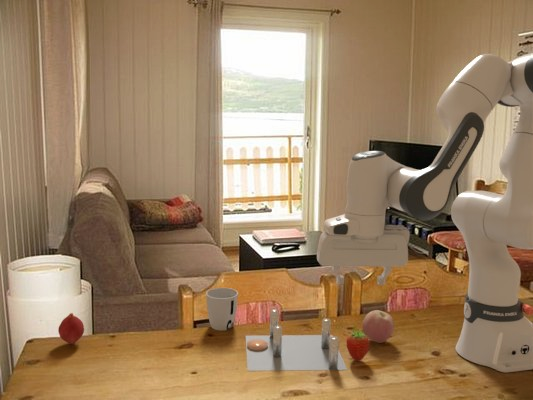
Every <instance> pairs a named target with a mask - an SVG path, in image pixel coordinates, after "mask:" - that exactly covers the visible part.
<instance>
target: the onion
mask: <svg viewBox="0 0 533 400" xmlns="http://www.w3.org/2000/svg"><path fill="white" fill-rule="evenodd" d="M84 332H85V325H84V323H83V321H82V320H81V319H80V318H79V317H77V316H76V315H74V313H73V312H70V313H69V314H68V315H67V316H66V317H64V318H63V319H62V320H61V322H60V324H59V326H58V335H59V337H60V339H61V340H63V341H64V342H66V343H67V344H70V345H75V344H76V342H78V341H79V340H80V339H81V338H82V337H83V335H84Z"/></svg>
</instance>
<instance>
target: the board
mask: <svg viewBox="0 0 533 400" xmlns="http://www.w3.org/2000/svg"><path fill="white" fill-rule="evenodd" d="M332 336H334V335H333V334H330V337H332ZM254 339H260V340H264V341H266V342H267V343H268V348H267V349H265V350H262V351H253V350H250V349H248V348H247V342H248V341H250V340H254ZM321 342H322V334H304V335H303V334H299V335H298V334H297V335H294V334H291V335H289V334H288V335H287V334H284V335H283V334H282V350H281V357H279V358H275V357H273V339H272V338H270V334H269V335H266V334H265V335H245V349H246V350H245V351H246V364H247V366H246V368H247V372H257V371H258V372H268V371H269V372H273V371H274V372H275V371H277V372H278V371H281V372H282V371H283V372H284V371H285V372H286V371H287V372H288V371H291V372H292V371H293V372H294V371H332V370H331V369H329V368H328V367H329V349H322V348H321ZM335 371H348V369H347V366H346V363H345V360H344V359H343V356H342V355H341V351H340V349H339V348H338V368H337V369H336V370H335Z"/></svg>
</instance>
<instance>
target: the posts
mask: <svg viewBox="0 0 533 400" xmlns="http://www.w3.org/2000/svg"><path fill="white" fill-rule="evenodd" d="M269 311H270V314H269V315H270V316H269V335H270V338H272V339H273V357H275V358H279V357H281V350H282V335H283V326H282V325H279V310H278V309H276V308H272V309H270V310H269ZM321 320H322V321H321V335H322V342H321V348H322V349H329V367H328V368H329V369H331V370H330V371H337V370H336V369H337V368H338V349H339V348H340V347H339V345H340V338H339V337H338V336H334V335H333V336H332V337H330V335H331V328H332V327H331V324H332V320H331V319H330V318H323V319H321Z"/></svg>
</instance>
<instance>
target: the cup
mask: <svg viewBox="0 0 533 400" xmlns="http://www.w3.org/2000/svg"><path fill="white" fill-rule="evenodd" d="M205 295H206V309H207V315H208V320H209V322H208V323H210V327H211V329H213V330H216V331H221V332H222V331H228V330H231V329H232V328H233V326H234V325H235V324H234V323H235V321H236V314H237V309H238V296H239V292H238V291H237V290H236V289H234V288H230V287H216V288H211V289H208V290H207V291H206V292H205Z"/></svg>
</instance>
